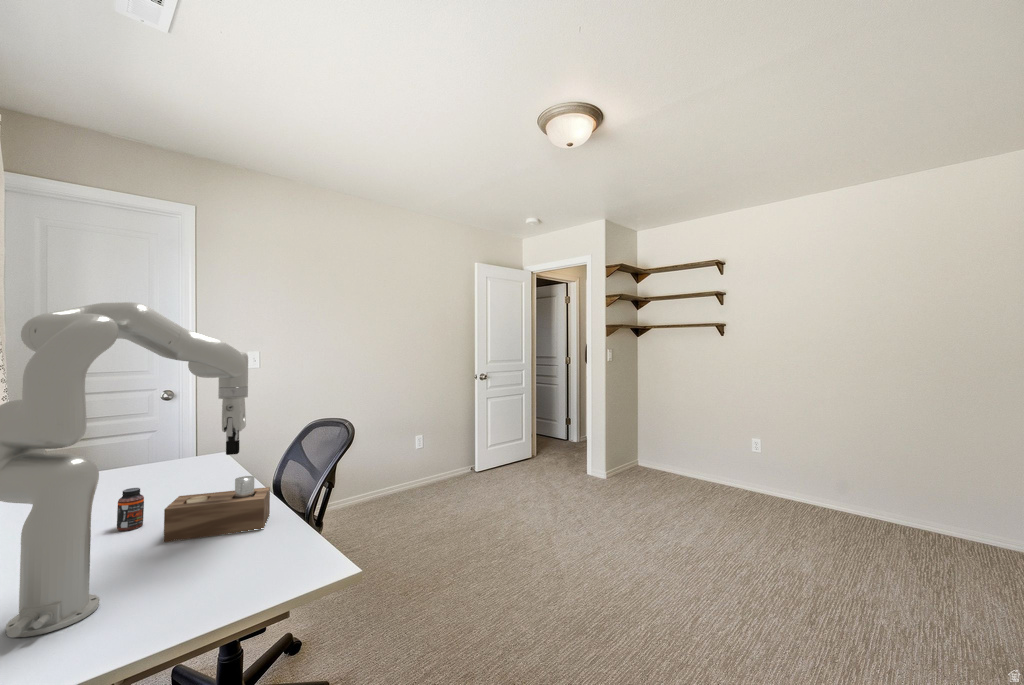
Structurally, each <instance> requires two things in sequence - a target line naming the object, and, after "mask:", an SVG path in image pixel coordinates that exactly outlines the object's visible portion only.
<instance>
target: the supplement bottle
mask: <svg viewBox="0 0 1024 685" xmlns="http://www.w3.org/2000/svg"><path fill="white" fill-rule="evenodd" d="M144 508H145V496H144V495H143V494H141V488H140V487H131V488H126V489H123V490H122V496H121V497H120V498H119V499H118V500H117V508H116V509H117V510H116V513H117V515H116V530H117V531H120V532H128V531H133V530H136V529H139V528H141V527H142V526H143V525H144V514H145V513H144V512H145V510H144Z"/></svg>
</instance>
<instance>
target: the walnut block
mask: <svg viewBox="0 0 1024 685" xmlns="http://www.w3.org/2000/svg"><path fill="white" fill-rule="evenodd" d="M199 496H206V497H208V500H207V501H206V502H197V503H188V504H186V501H187V500H188V499H190V498H193V497H199ZM270 498H271V487H270V486H268V487H258V488H257V487H254V497H245V498H235V490H226V491H218V492H217V491H216V492H215V491H214V492H208V493H207V492H204V493H195V494H187V495H179V496H177V497H176V498H175V499H174V500H173V501H172V502H171V503H170V504H168V505H167V506H166V507H164V509H163V510H164V513H163V515H164V516H163V543H169V542H177V541H184V540H190V539H191V540H192V539H193V540H194V539H199V538H205V537H215V536H216V537H217V536H223V535H222V534H224V535H229V534H228V533H232V534H237V533H236V532H240V533H242V532H241V531H247V532H249V531H248V530H254V529H261V528H264V529H265V527H266V525H265V523H266V524H267V522H268V520H267V519H269V518H270V515H269V514H270V509H271V508H270V507H271V499H270ZM268 517H269V518H268ZM266 521H267V522H266ZM264 526H265V527H264Z"/></svg>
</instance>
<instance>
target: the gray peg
mask: <svg viewBox="0 0 1024 685" xmlns="http://www.w3.org/2000/svg"><path fill="white" fill-rule="evenodd" d="M254 489H255V476H254V475H244V476H239V477H236V478H235V479H234V491H235V498H245V497H254Z"/></svg>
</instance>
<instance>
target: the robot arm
mask: <svg viewBox="0 0 1024 685" xmlns="http://www.w3.org/2000/svg"><path fill="white" fill-rule="evenodd" d="M20 339H21V341H22V343H23V344H24V345H25V347H26V348H28V349H29V350H31V351H33V352H35V353H34V354H33V355H32V356H31V358H30V359H29V360H28V362H27V363H26V364H25V365H26V366H25V368H24V371H23V373H22V374H23V375H22V388H21V389H22V391H21V393H22V394H21V396H22V397H21V399H15V400H11V401H7V402H5V403H2V404H0V502H3V503H10V504H26V505H27V504H28V505H32V507H31V510H30V512H29V513H28V515H27V517H26V519H25V521H24V522H23V525H22V528H21V533H20V560H19V563H20V564H19V565H20V566H19V588H18V590H19V593H18V594H19V595H18V614H17V615H14V617H12V619H10V620H9V621H8V622H7V623H6V624H5V625H6V626H5V634H6V635H7V637H8V638H13V639H14V638H27V637H34V636H39V635H43V634H48V633H51V632H54V631H58V630H61V629H63V628H66V627H68V626H72V625H73V624H76V623H78V622H80V621H81V620H83V619H85V618H87V617H89V616H90V615H91V614H92V613H94V612H95V611H96V610H97V609H98V607H99V605H100V597H99V596H97V595H95V594H91V593H90V575H91V573H90V571H91V570H90V567H91V540H92V538H91V537H92V510H93V502H94V499H95V495H96V490H97V488H98V484H99V479H100V471H99V468H98V465H97V464H96V463H95V462H94V461H93V460H92V459H90V458H88V457H86V456H82V455H80V454H74V453H46V449H47V450H56V449H64V448H67V447H71V446H74V445H75V444H77V443H78V442H80V441H81V440H82V439H83V437H84V436H85V434H86V432H87V421H88V420H87V407H86V405H87V402H86V377H87V373H88V370H89V368H90V367H91V365H92V364H93V363H94V361H95V360H96V359H98V358H99V356H101V355H102V354H103V353H104V352H106V351H108V350H109V349H110V348H111V347H112V346H113V345H114V344H115V342H116V341H117V339H118V340H119V339H122V340H127V341H129V342H131V343H134V344H135V345H138V346H140V347H142V348H144V349H146V350H148V351H150V352H152V353H153V354H156V355H158V356H159V357H162V358H165V359H170V360H174V361H181V362H188V363H187V366H188V370H189V372H190V373H191V374H192V375H194V376H195V377H199V378H205V379H206V378H207V379H209V378H210V379H214V378H217V379H218V395H217V396H218V400H222V405H221V431H222V432H223V433H226V434H225V435H226V440H225V441H226V442H225V455H227V456H232V455H238V454H239V453H240V432H242V431H243V429H245V428H246V427H247V426H246V425H247V420H246V418H247V417H246V416H247V415H246V398H248V397H249V356H248V354H247V353H246V352H243V351H242V352H241V351H239V350H237V349H236V348H234V347H233V346H231V345H229V344H228V343H226V342H223V341H222V340H220V339H216V338H214V337H210V336H207V335H204V334H201V333H198V332H196V331H192V330H189V329H186V328H184V327H183V326H181V325H180V324H177V323H175V321H172V320H171V319H169V318H168V317H166V316H165V315H162V314H161V313H159V312H157V311H156V310H155V309H152V308H151V307H149V306H147V305H145V304H142V303H139V302H138V303H137V302H132V301H131V302H130V301H129V302H127V301H126V302H100V303H92V304H88V305H83V306H78V307H73V308H67V309H64V310H59V311H58V310H57V311H52V312H46V313H41V314H39V315H36V316H33V317H31V318H29V320H27V321H26V322H25V323H24V325H23V326H22V328H21V330H20Z"/></svg>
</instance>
